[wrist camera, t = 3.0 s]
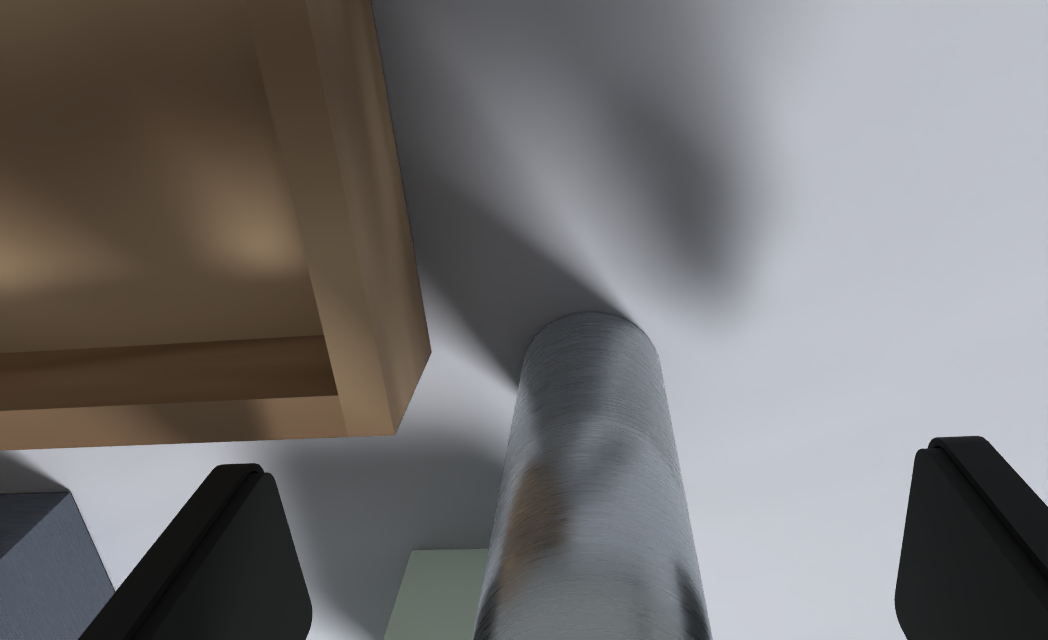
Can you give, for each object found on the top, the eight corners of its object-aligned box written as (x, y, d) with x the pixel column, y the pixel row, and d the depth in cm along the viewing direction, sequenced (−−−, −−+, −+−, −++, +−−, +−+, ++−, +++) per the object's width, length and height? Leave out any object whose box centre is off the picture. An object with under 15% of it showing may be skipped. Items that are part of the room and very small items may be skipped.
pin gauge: (512, 313, 14) (369, 902, 5) (662, 304, 14) (805, 921, 5) (526, 437, 15) (432, 1097, 6) (664, 432, 15) (783, 1124, 6)
